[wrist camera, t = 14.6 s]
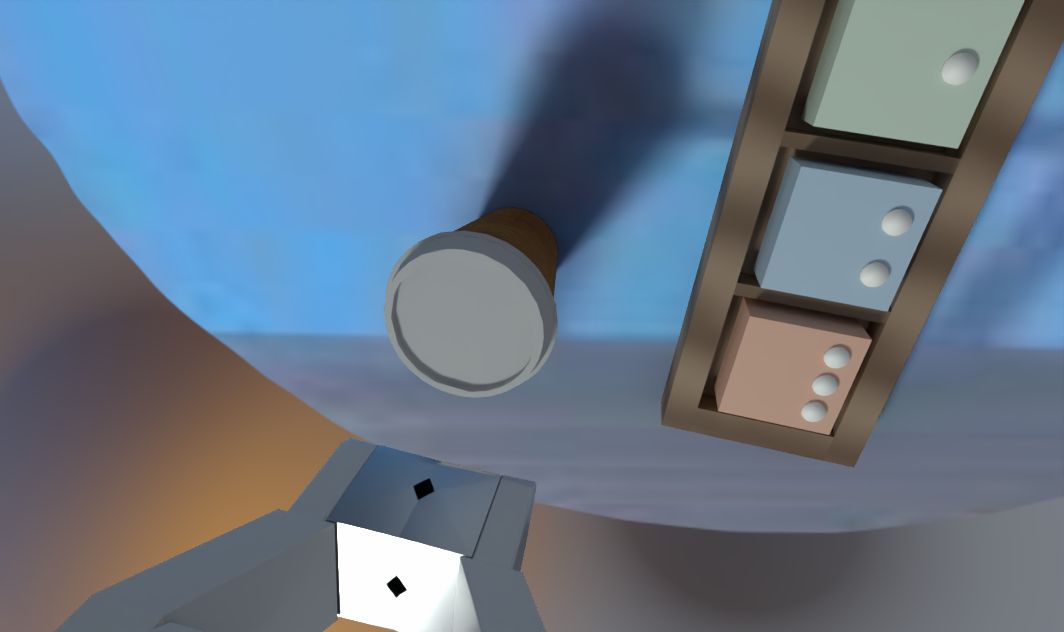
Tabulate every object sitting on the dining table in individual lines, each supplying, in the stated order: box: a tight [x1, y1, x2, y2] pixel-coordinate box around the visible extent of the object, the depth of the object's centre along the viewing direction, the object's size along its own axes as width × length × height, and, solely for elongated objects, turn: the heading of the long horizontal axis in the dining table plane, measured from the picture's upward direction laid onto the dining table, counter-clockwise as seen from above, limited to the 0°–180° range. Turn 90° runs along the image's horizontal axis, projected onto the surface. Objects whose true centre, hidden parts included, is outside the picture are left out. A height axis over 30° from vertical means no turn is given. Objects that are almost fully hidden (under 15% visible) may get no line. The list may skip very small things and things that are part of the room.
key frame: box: [661, 0, 1064, 467], centre depth 35 cm, size 31×13×3 cm, turn 172°
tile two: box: [753, 156, 942, 312], centre depth 33 cm, size 7×7×3 cm
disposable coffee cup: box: [384, 207, 558, 398], centre depth 35 cm, size 10×10×12 cm
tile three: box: [714, 297, 872, 435], centre depth 37 cm, size 7×7×3 cm
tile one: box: [801, 0, 1025, 149], centre depth 29 cm, size 7×7×3 cm
